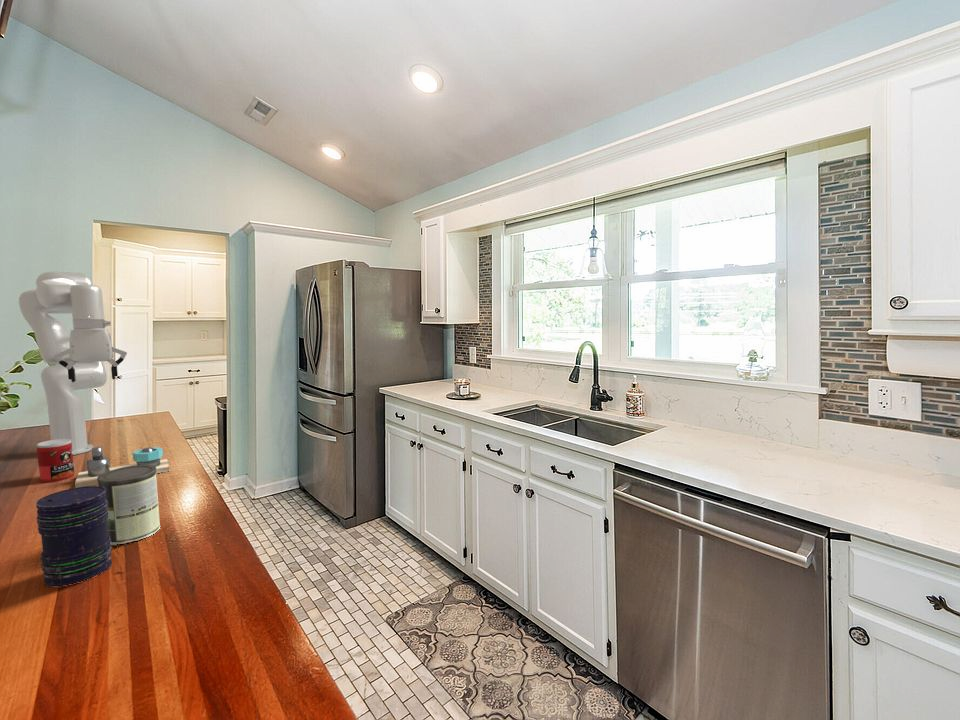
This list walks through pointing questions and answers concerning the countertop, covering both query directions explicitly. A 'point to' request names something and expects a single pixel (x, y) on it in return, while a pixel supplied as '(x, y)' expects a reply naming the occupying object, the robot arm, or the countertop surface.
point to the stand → (97, 463)
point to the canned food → (55, 460)
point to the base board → (88, 481)
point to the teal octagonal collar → (147, 455)
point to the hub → (152, 462)
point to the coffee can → (131, 503)
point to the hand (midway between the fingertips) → (94, 380)
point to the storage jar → (74, 535)
